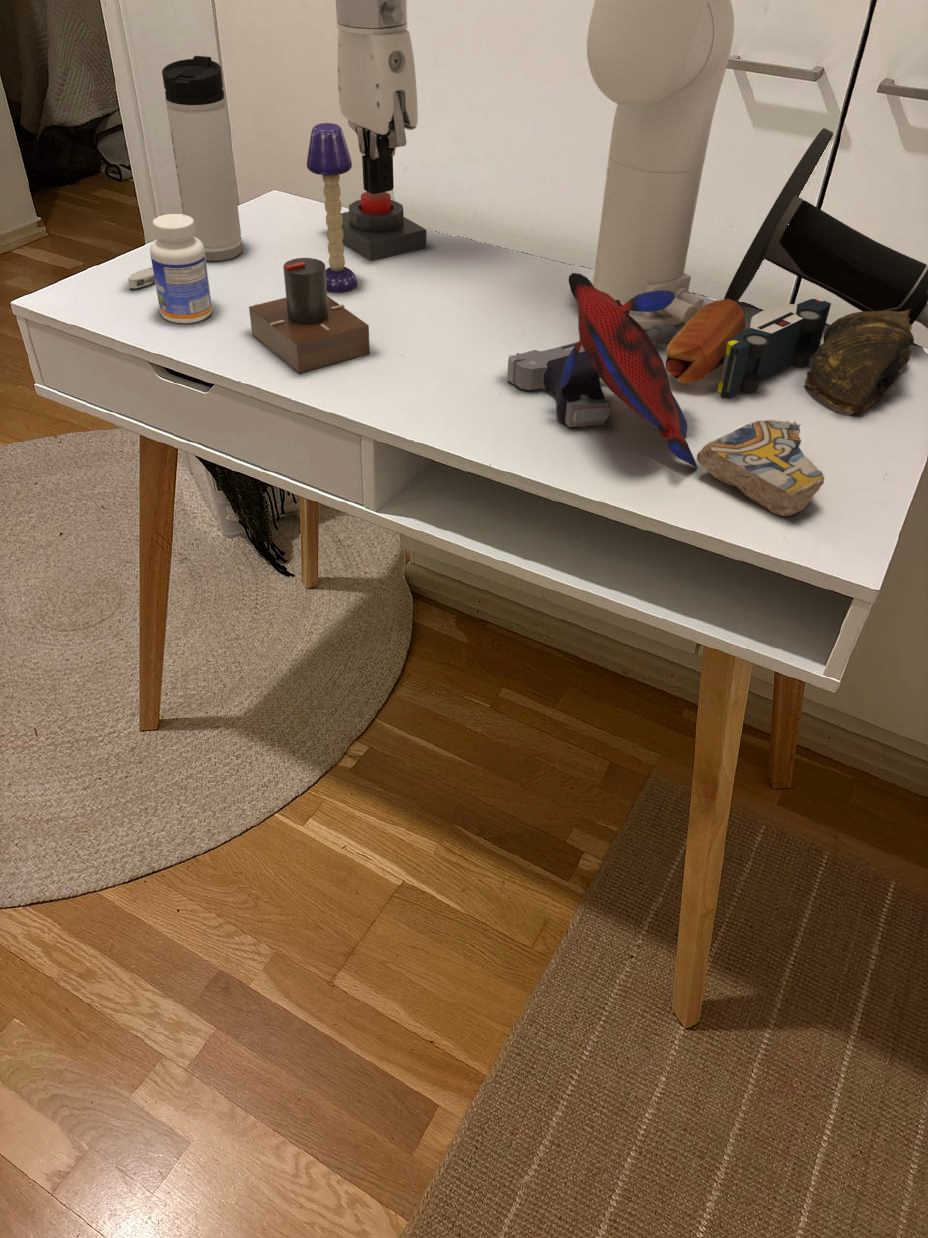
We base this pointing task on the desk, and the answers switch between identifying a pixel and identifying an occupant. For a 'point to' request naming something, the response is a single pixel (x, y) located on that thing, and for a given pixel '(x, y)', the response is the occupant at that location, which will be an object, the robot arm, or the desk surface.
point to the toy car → (772, 345)
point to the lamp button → (375, 203)
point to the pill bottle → (180, 270)
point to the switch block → (381, 232)
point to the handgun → (583, 390)
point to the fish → (628, 358)
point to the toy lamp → (332, 197)
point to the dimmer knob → (306, 290)
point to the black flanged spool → (832, 252)
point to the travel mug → (203, 153)
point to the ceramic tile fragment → (765, 465)
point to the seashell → (861, 358)
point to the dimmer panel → (310, 335)
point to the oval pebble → (141, 278)
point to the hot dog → (704, 341)
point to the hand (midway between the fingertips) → (378, 190)
